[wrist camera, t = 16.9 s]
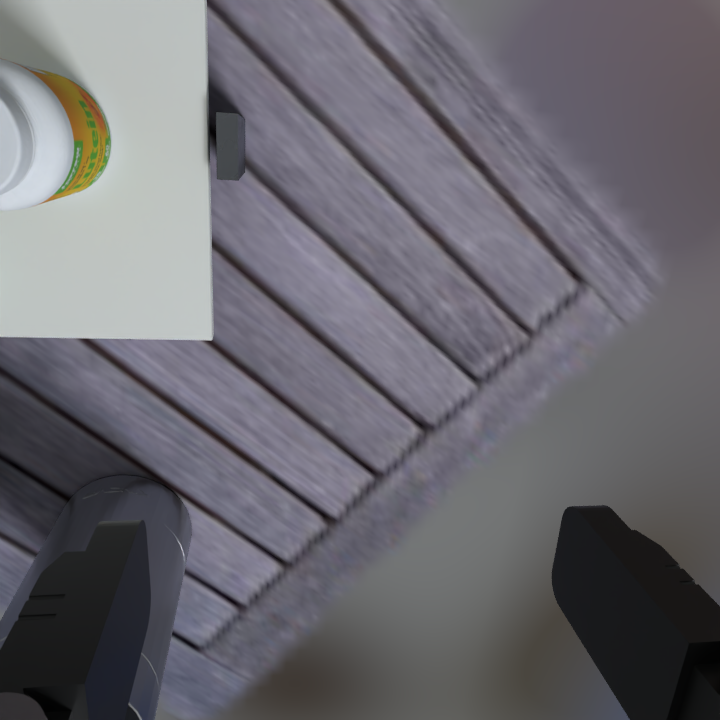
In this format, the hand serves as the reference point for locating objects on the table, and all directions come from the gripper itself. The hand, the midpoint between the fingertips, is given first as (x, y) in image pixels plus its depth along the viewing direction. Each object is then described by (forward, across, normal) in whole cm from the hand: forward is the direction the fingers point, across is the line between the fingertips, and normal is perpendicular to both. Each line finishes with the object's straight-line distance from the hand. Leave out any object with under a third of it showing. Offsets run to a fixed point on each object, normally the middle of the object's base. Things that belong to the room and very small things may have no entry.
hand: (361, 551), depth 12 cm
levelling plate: (+23, +12, -7) cm, 27 cm away
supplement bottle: (+23, +12, -7) cm, 27 cm away
